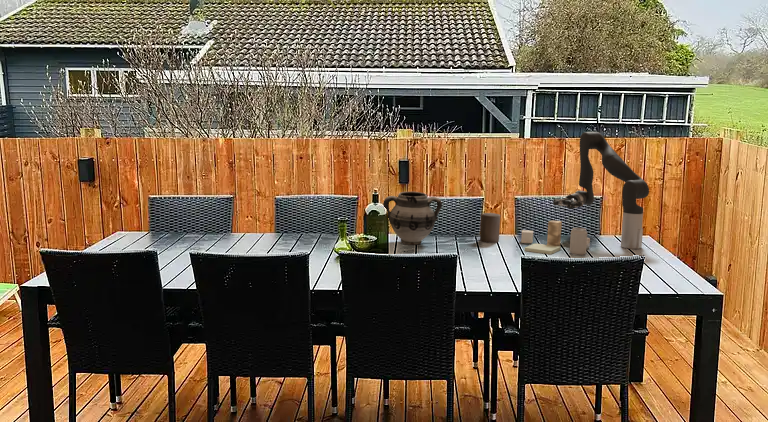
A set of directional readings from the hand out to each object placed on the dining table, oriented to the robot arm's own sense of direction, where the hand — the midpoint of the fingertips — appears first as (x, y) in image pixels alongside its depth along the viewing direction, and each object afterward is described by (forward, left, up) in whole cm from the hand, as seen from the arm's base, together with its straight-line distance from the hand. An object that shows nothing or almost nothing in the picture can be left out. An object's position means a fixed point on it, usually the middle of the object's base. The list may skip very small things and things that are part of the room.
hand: (563, 204), depth 347 cm
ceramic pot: (+58, +51, -19) cm, 80 cm away
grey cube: (+14, +11, -19) cm, 26 cm away
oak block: (0, +11, -19) cm, 22 cm away
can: (-16, +23, -19) cm, 34 cm away
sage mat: (0, +26, -19) cm, 32 cm away
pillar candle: (+30, +21, -20) cm, 42 cm away
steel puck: (-14, +9, -19) cm, 26 cm away
